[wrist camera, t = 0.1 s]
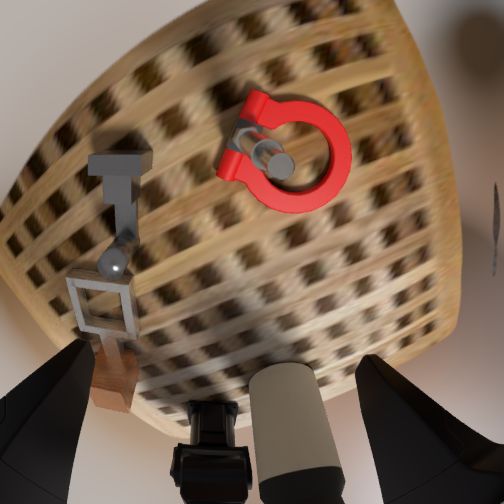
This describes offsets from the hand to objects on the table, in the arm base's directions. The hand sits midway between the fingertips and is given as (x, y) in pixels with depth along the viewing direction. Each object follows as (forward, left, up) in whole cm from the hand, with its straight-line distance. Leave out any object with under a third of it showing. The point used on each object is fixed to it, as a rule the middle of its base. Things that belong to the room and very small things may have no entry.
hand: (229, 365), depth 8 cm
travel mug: (-20, -8, -15) cm, 26 cm away
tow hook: (+5, -4, -15) cm, 16 cm away
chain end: (-13, +11, -15) cm, 23 cm away
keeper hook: (0, +8, -15) cm, 17 cm away
